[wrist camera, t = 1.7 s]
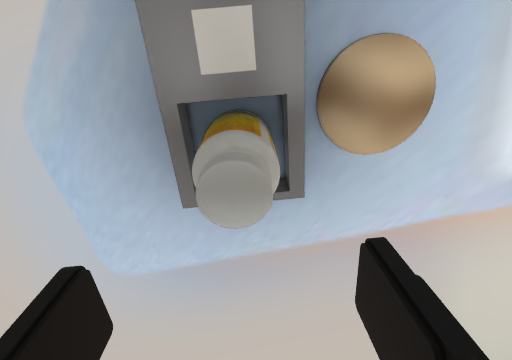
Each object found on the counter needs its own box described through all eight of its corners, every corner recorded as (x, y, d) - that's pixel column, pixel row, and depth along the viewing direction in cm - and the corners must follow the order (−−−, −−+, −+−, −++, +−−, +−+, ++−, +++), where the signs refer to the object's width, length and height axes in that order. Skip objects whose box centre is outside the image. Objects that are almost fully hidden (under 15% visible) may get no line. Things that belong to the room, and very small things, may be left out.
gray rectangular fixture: (141, -24, 17) (123, -37, 15) (296, -37, 17) (306, -53, 15) (188, 193, 24) (182, 211, 22) (298, 183, 24) (305, 199, 22)
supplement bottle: (283, 140, 22) (309, 197, 14) (239, 182, 24) (237, 255, 15) (237, 93, 21) (233, 124, 12) (192, 141, 22) (159, 198, 14)
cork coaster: (318, 39, 19) (320, 39, 19) (442, 28, 19) (447, 27, 19) (315, 156, 23) (317, 159, 23) (418, 147, 23) (423, 149, 23)
